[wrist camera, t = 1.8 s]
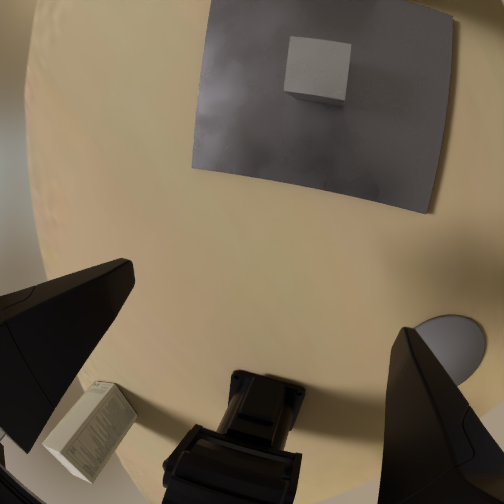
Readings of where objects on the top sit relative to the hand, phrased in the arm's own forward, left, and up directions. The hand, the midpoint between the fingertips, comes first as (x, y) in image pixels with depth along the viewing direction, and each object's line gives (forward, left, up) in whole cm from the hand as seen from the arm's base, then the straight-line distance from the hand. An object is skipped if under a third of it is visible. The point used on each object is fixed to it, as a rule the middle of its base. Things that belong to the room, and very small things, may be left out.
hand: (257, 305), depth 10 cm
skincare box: (-28, +18, -12) cm, 35 cm away
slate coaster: (-9, -13, -11) cm, 19 cm away
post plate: (+8, 0, -11) cm, 14 cm away
